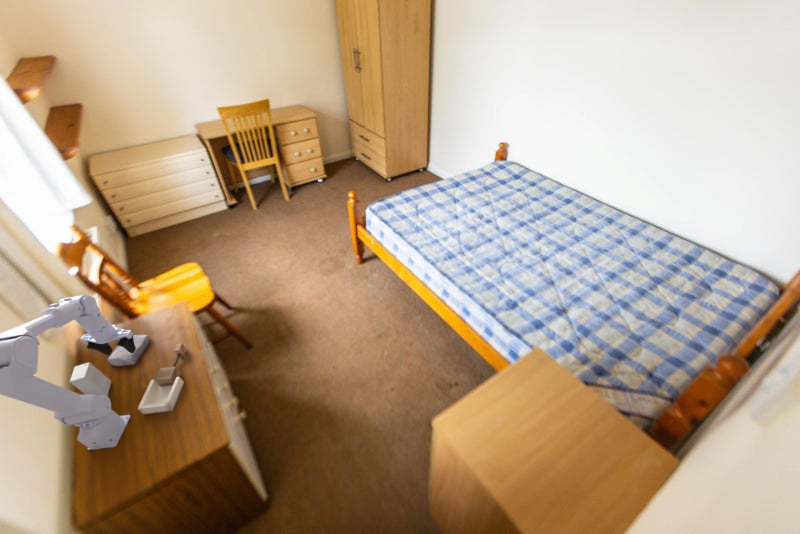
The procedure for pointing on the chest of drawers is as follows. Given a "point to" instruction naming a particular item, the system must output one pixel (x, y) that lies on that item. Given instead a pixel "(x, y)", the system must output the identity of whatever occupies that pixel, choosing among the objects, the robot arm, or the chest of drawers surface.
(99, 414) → the robot arm
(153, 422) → the chest of drawers surface
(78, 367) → the skincare box
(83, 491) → the chest of drawers surface
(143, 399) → the tray
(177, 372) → the corded block
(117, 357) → the stone block
